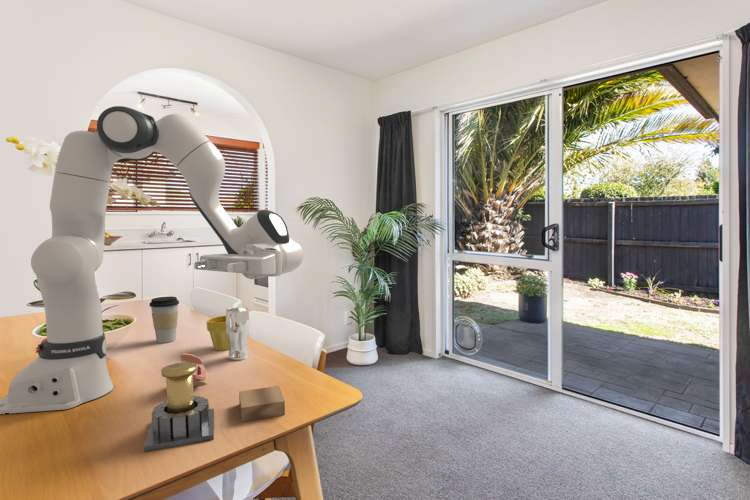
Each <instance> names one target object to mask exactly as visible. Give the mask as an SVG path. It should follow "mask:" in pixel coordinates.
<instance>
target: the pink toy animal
mask: <svg viewBox="0 0 750 500" xmlns="http://www.w3.org/2000/svg"><path fill="white" fill-rule="evenodd" d="M180 357H181V358H180V359H179V362H178V363H183V362H189V363H194V364H196V365H197V370H196V372H194V373H193V387H195V386H196V387H197V386H202V385H208V383H209V372H208V371H206V368H205V366H204V364H203V362H202V360H201V359H200V358H199V357H198V356H196V355H194V354H192V353H191V354H190V353H181V355H180Z"/></svg>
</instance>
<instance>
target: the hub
mask: <svg viewBox="0 0 750 500" xmlns="http://www.w3.org/2000/svg"><path fill="white" fill-rule="evenodd" d="M193 396H194V409H193V410H190V411H187V412H185V413H178V414H169V413H168V407H167V400H165V401H163V402H160V403H159V404H157V405H156V406H154V408H153V409H152V412H151V423H150V425H149V428H148V432H147V435H146V438H145V441H144V444H143V452H144V453H145V452H150V451H157V450H163V449H168V448H174V447H179V446H184V445H190V444H197V443H201V442H206V441H211V440H212V441H213V440H214V439H215V438H214V436H215V408H209V399H207V398H205V397H204V396H202V397H201V396H200V395H193Z"/></svg>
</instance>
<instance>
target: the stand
mask: <svg viewBox="0 0 750 500" xmlns="http://www.w3.org/2000/svg"><path fill="white" fill-rule="evenodd" d="M238 393H239V396H238V397H239V398H238V399H239V400H238V401H239V402H238V403H239V410H240V411H239V412H240V417H241V422H249V421H254V420H260V419H266V418H271V417H278V416H279V417H280V416H284V415H286V408H285V407H286V405H285V403H286V402H285V398H284V396H283V393H282V391H281V387H280V385H277V386H276V385H275V386H274V385H273V386H268V387H262V388H254V389H248V390H239V391H238Z"/></svg>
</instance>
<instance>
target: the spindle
mask: <svg viewBox="0 0 750 500" xmlns="http://www.w3.org/2000/svg"><path fill="white" fill-rule="evenodd" d="M196 370H197V365H196V364H194V363H189V362H183V363H179V362H177V363H176V362H175V363H172V364H168V365H166V366H164V367H162V368H161V371H160V373H161V376H162V378H163V377H164V378H165V381H166V385H165V386H166V401H167V407H168V413H169V414H178V413H185V412H187V411H190V410H193V409H194V396H195V395H194V386H193V373H194V372H196Z"/></svg>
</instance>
